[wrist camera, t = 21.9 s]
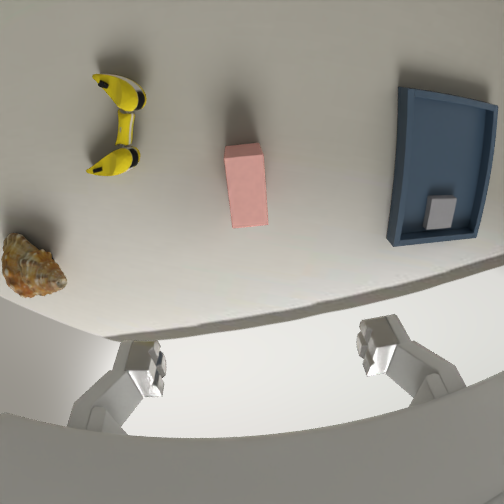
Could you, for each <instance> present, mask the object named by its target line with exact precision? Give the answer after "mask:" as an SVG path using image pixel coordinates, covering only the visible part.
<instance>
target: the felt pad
mask: <svg viewBox="0 0 504 504" xmlns="http://www.w3.org/2000/svg"><path fill="white" fill-rule="evenodd" d="M456 201H457V198H456V197H454V196H453V195H432V196H428V198H427V204H426V210H425V216H424V221H423V227H424V228H425V229H426V230H429V229H442V228H451V224H452V220H453V215H454V211H455V206H456Z"/></svg>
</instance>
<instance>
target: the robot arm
mask: <svg viewBox="0 0 504 504" xmlns="http://www.w3.org/2000/svg"><path fill="white" fill-rule="evenodd" d="M359 327H360V330H361V332H360V333H359V334H358V336H357V350H358V353H359V356H360V357H362V358H363V359H364V361H363V367H364V369H365V372H366V374H367V376H372V375H378V374H383V373H386V374H387V375H388V376H389V377H390V378H391V379H393V380H394V381H395V382H396V383H397V384H398V385H399V386H401V387H402V388H403V389H404V390H405V391H406V392H408V393H409V394H410V395H411V396H412V397H413V398H414V399H413V400H412V402H411V404H410V406H409V407H408V408H405V409H401V410H397V411H394V412H390V413H386V414H382V415H379V416H374V417H370V418H366V419H362V420H357V421H353V422H348V423H343V424H338V425H333V426H328V427H321V428H315V429H309V430H302V431H295V432H287V433H278V434H269V435H259V436H245V437H230V438H161V437H144V436H130V435H128V434H126V432H125V431H124V430H123V429H122V428H121V426H122V425H123V423H124V422H125V421H126V419H127V418H128V417H129V416H130V414H131V413H132V412H133V411H134V409H135V408H136V407H137V405H138V404H139V403H140V401H141V400H142V399H143V397H162V395H163V389H164V382H163V380H162V378H163V377H164V376H165V375H166V360H165V356H164V354H163V353H162V352H161V351H160V344H159V343H158V341H157V340H123V341H122V342H121V343H120V347H119V350H118V353H117V357H116V360H115V363H114V366H113V370H112V371H111V370H110V371H108V372H107V373H106V374H105V375H104V376H103V377H102V378H101V379H99V380H98V381H97V382H96V383H95V384H94V385H93V386H92V387H91V388H90V389H89V390H88V391H86V392H85V393H84V394H83V395H82V396H81V397H80V398H79V399H78V400H77V401H76V402H75V403H74V405H73V408H72V411H71V414H70V418H69V421H68V425H67V427H65V426H60V425H55V424H50V423H46V422H40V421H37V420H33V419H29V418H25V417H21V416H17V415H13V414H10V413H2V414H0V504H504V371H502V372H500V373H498V374H496V375H494V376H491V377H489V378H487V379H485V380H482V381H480V382H478V383H475V384H473V385H470V386H468V387H466V385H465V383H464V381H463V379H462V378H461V376H460V374H459V372H458V370H457V368H456V367H455V366H454V365H453V364H451V363H450V362H448V361H447V360H445V359H443V358H442V357H440V356H438V355H437V354H435V353H433V352H432V351H430V350H428V349H427V348H425V347H424V346H422V345H420V344H419V343H417V342H415V341H411V340H410V338H409V336H408V335H407V333H406V331H405V329H404V327H403V325H402V324H401V322H400V320H399V318H398V317H397V315H395V314H393V315H387V316H382V317H377V318H371V319H365V320H362V321H361V322H360V326H359Z"/></svg>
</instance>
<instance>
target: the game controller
mask: <svg viewBox="0 0 504 504" xmlns="http://www.w3.org/2000/svg"><path fill="white" fill-rule="evenodd" d="M92 77H93V79H94V80H95V81H97V83H98V86H100V87H102V88H103V89H104V90H105V92H106V93H107V94H108V95H109V96H110V97H111V99H112V100H113V101H114V103H115V104H116V105H117V106H118V107H119V108H121V109H119V110H118V122H119V125H118V134H117V140H116V143H115V146H118V145H120V144H122V147H121V148H120V149H117V150H115V151H113V152H111V153H110V154H108V155H107V156H105V157H104V158H103V159H101V160H100V161H99V162H98V163H96V164H95V165H94V166H92V167H91V168H89V169H87V170H86V172H87V173H90V174H94V175H100V176H113V175H118V174H121V173H124V172H126V171H129V170H131V169H132V168H134V167H135V166H136V165H137V164H138V162H139V160H140V152H139V150H138V149H137V148H136V147H133V146H127V147H126V145H131V144H132V139H133V125H134V119H135V114H134V113H129V111H135V110H139V109H142V108H143V107H144V106H145V104H146V94H145V92H144V90H143V89H142V88H141V87H140V86H139V85H138V84H137V83H136V82H134V81H132V80H130V79H128V78H125V77H122V76H119V75H113V74H93V76H92Z"/></svg>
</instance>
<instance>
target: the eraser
mask: <svg viewBox="0 0 504 504" xmlns="http://www.w3.org/2000/svg"><path fill="white" fill-rule="evenodd" d="M224 163H225V171H226V180H227V188H228V196H229V204H230V212H231V220H232V228H241V227H251V226H261V225H268V210H267V196H266V181H265V168H264V155H263V152H262V150H261V147H260V144H259V143H251V144H240V145H231V146H225V154H224Z"/></svg>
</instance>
